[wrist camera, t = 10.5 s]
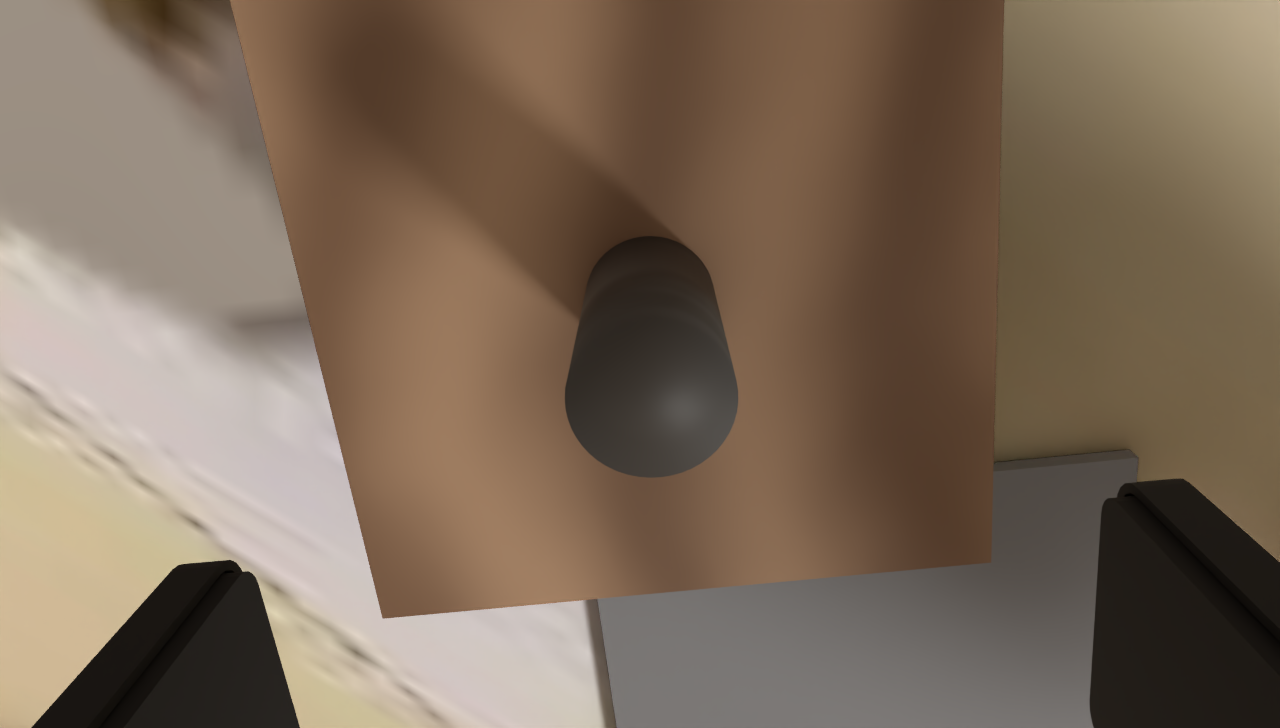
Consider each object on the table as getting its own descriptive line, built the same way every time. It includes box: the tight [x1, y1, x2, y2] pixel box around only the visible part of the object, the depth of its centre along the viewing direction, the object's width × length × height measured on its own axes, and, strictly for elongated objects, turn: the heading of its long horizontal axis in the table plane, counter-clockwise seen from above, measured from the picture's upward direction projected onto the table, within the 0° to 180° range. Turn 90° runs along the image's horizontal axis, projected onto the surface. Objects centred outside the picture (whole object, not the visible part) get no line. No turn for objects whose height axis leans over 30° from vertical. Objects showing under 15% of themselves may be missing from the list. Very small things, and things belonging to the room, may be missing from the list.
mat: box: [597, 450, 1138, 728], centre depth 34 cm, size 18×18×1 cm
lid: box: [230, 0, 1004, 618], centre depth 20 cm, size 16×16×7 cm
